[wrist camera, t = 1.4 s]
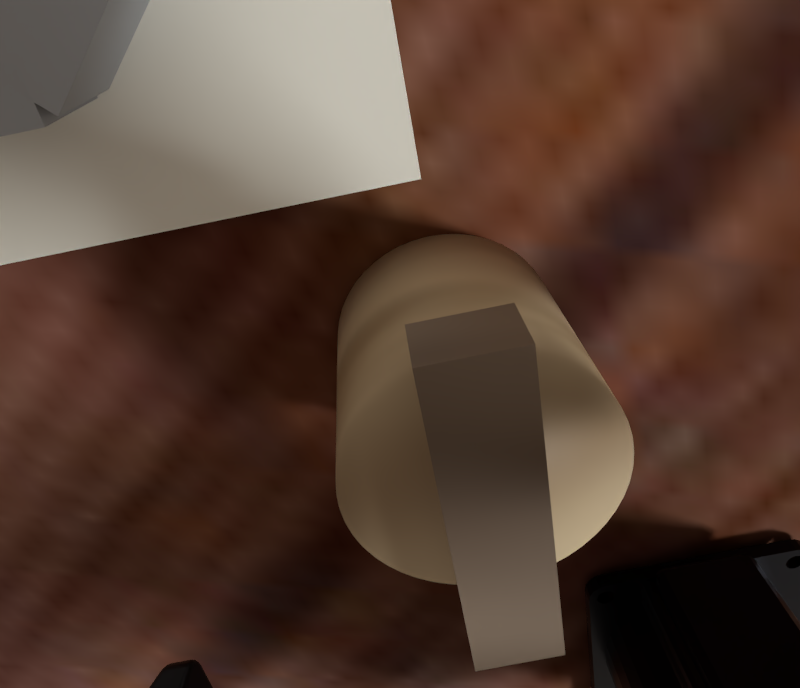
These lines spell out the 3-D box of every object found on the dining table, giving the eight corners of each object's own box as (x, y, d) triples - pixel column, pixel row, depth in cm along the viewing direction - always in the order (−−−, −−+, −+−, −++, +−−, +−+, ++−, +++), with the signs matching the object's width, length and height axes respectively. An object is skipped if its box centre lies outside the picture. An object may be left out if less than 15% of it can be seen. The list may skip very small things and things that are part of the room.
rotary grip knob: (561, 424, 17) (662, 637, 12) (368, 462, 17) (380, 689, 12) (542, 180, 14) (667, 317, 9) (305, 228, 14) (282, 393, 9)
